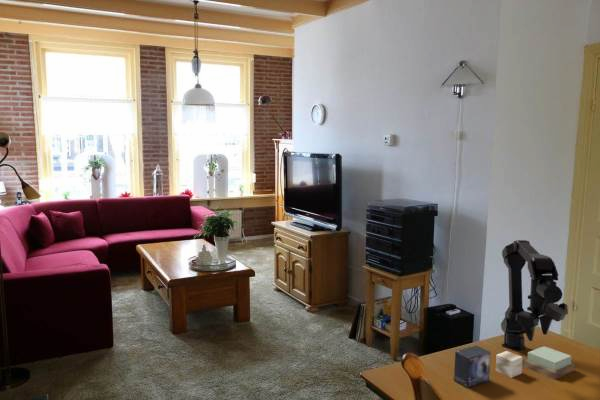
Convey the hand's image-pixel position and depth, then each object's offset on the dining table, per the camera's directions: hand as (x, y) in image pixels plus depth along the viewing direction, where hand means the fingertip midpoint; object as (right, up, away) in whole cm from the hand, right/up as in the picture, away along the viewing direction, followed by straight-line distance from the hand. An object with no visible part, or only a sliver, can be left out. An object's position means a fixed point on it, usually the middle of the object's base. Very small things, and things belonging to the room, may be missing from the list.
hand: (537, 337), depth 165 cm
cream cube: (-9, -13, +2) cm, 16 cm away
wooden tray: (+6, -13, +5) cm, 15 cm away
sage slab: (+6, -10, +4) cm, 13 cm away
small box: (-24, -14, -4) cm, 28 cm away
